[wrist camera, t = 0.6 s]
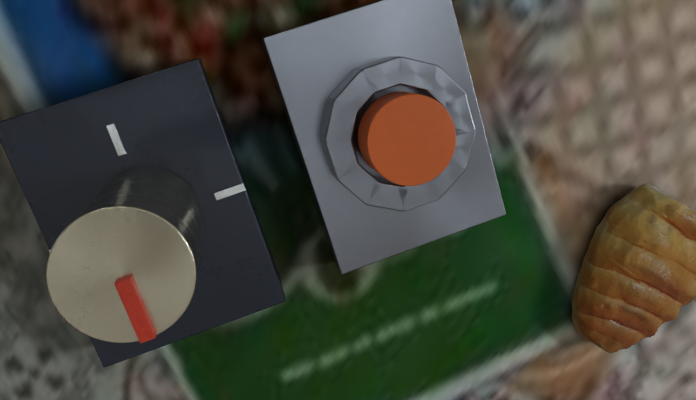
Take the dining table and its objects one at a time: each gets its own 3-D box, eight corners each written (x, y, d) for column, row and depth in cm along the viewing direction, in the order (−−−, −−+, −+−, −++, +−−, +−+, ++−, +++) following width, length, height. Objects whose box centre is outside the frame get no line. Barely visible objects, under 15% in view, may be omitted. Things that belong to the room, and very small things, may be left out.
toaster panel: (13, 117, 30) (-10, 124, 27) (200, 58, 31) (197, 58, 28) (113, 341, 34) (102, 369, 30) (281, 281, 34) (286, 302, 31)
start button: (346, 107, 30) (355, 111, 28) (428, 79, 30) (443, 81, 28) (371, 189, 31) (382, 198, 29) (451, 161, 31) (466, 168, 29)
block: (260, 39, 32) (265, 36, 28) (432, -16, 33) (460, -26, 29) (334, 261, 35) (348, 287, 31) (490, 205, 36) (522, 223, 32)
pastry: (625, 357, 39) (666, 387, 36) (536, 312, 38) (569, 339, 34) (709, 221, 38) (759, 238, 35) (621, 168, 37) (665, 180, 33)
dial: (75, 187, 29) (17, 237, 21) (181, 152, 29) (165, 187, 21) (117, 284, 30) (78, 367, 22) (218, 249, 30) (216, 317, 22)
